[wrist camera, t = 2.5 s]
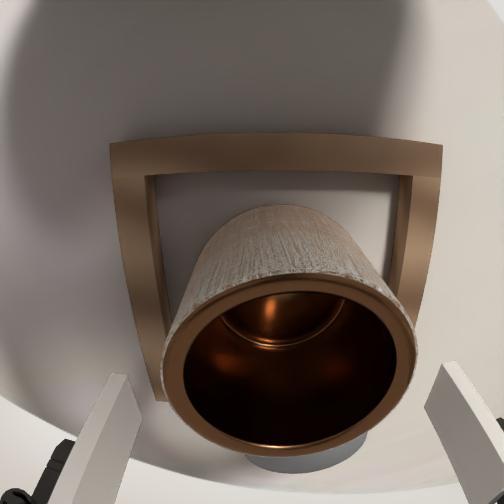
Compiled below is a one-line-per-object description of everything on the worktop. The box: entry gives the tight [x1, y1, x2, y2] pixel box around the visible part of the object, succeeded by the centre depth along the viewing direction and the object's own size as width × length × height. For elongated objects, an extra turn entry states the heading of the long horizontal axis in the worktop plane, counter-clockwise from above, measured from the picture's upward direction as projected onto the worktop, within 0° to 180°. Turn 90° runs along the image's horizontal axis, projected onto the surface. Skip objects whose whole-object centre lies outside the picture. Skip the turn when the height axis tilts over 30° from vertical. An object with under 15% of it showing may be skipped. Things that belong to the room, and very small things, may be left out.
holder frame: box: [109, 132, 443, 402], centre depth 20 cm, size 19×19×2 cm
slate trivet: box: [245, 432, 367, 474], centre depth 26 cm, size 12×12×1 cm
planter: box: [160, 205, 418, 457], centre depth 16 cm, size 11×11×10 cm
